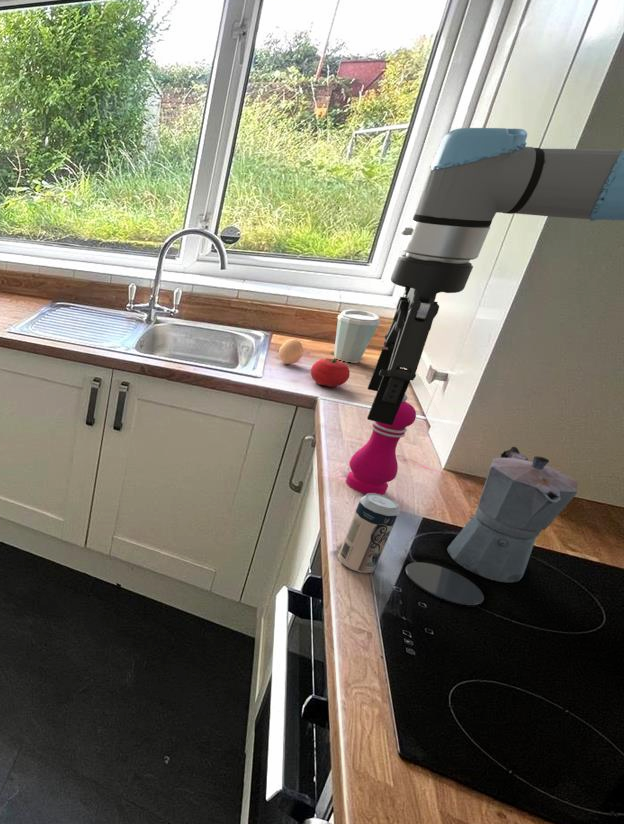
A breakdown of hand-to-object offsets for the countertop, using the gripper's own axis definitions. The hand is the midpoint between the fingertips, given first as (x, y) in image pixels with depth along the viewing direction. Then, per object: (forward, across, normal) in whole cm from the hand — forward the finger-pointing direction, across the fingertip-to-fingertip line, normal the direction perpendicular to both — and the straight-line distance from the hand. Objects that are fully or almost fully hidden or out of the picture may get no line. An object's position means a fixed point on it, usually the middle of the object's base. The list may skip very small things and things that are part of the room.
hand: (378, 405), depth 83 cm
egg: (+26, -100, -14) cm, 105 cm away
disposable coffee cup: (+26, -118, 0) cm, 121 cm away
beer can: (+26, 0, +4) cm, 27 cm away
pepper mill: (+26, -29, +6) cm, 40 cm away
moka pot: (+26, -14, +20) cm, 36 cm away
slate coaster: (+26, -3, +15) cm, 30 cm away
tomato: (+26, -88, -4) cm, 92 cm away
